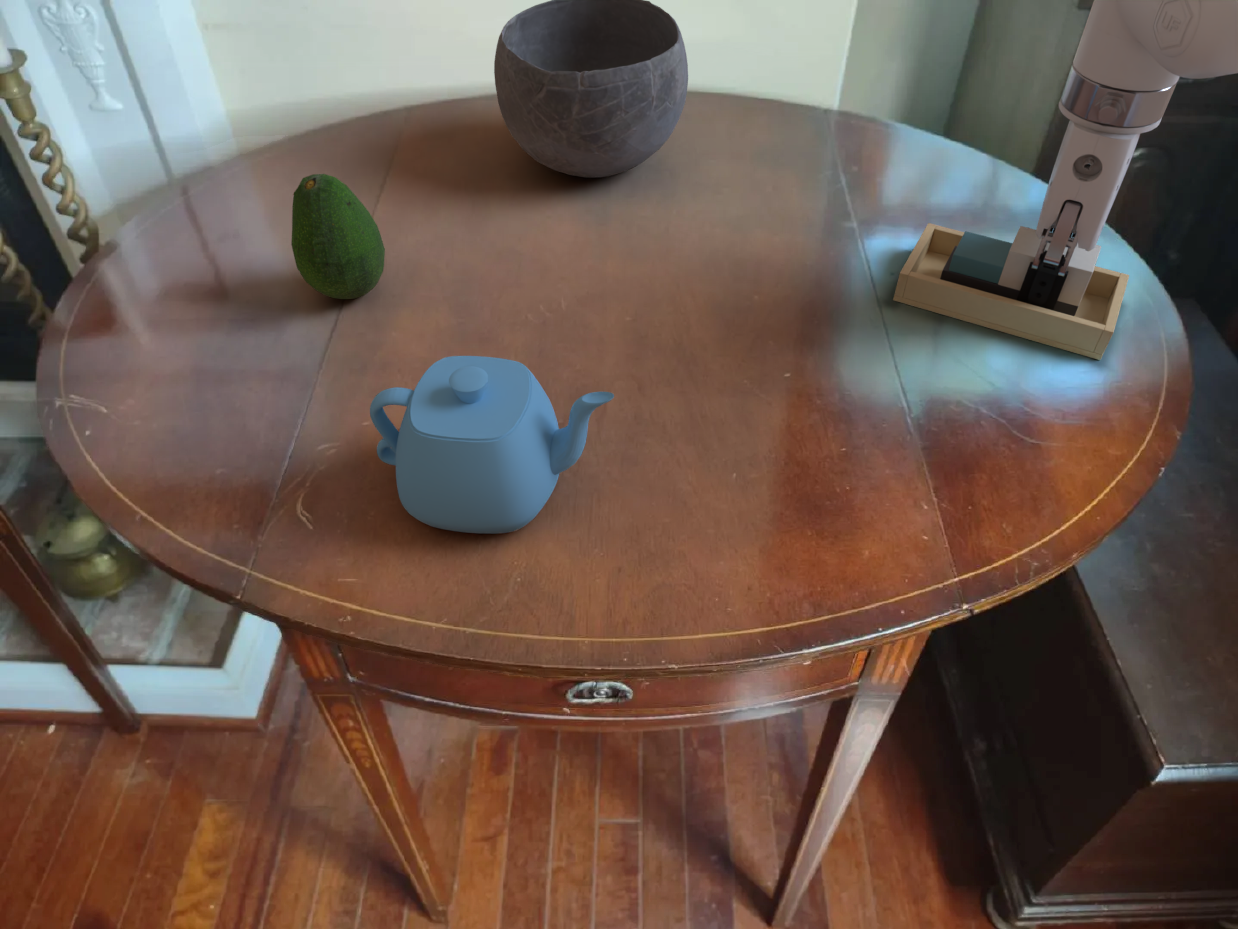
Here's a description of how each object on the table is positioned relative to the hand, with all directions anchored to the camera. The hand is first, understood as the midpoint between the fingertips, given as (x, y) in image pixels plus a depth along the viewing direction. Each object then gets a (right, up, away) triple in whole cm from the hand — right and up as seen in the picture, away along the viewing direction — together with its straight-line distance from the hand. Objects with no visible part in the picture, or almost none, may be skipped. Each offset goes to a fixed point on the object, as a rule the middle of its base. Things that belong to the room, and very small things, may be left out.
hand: (1041, 288), depth 86 cm
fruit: (-64, 0, +4) cm, 64 cm away
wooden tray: (-2, -1, +3) cm, 4 cm away
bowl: (-41, +18, +21) cm, 50 cm away
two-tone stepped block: (-2, 0, +1) cm, 3 cm away
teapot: (-48, -18, -13) cm, 53 cm away
